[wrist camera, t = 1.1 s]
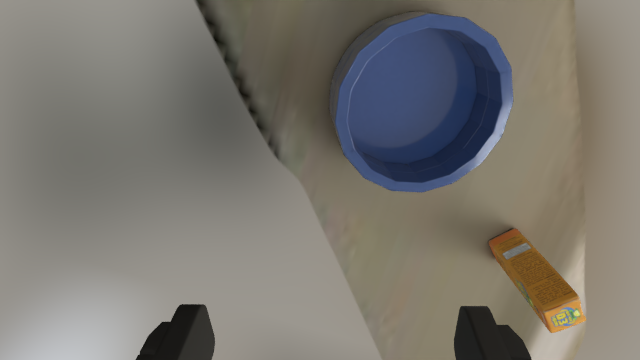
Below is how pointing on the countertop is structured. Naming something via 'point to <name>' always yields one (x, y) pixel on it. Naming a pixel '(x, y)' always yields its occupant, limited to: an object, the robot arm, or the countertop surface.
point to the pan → (420, 100)
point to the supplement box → (537, 281)
